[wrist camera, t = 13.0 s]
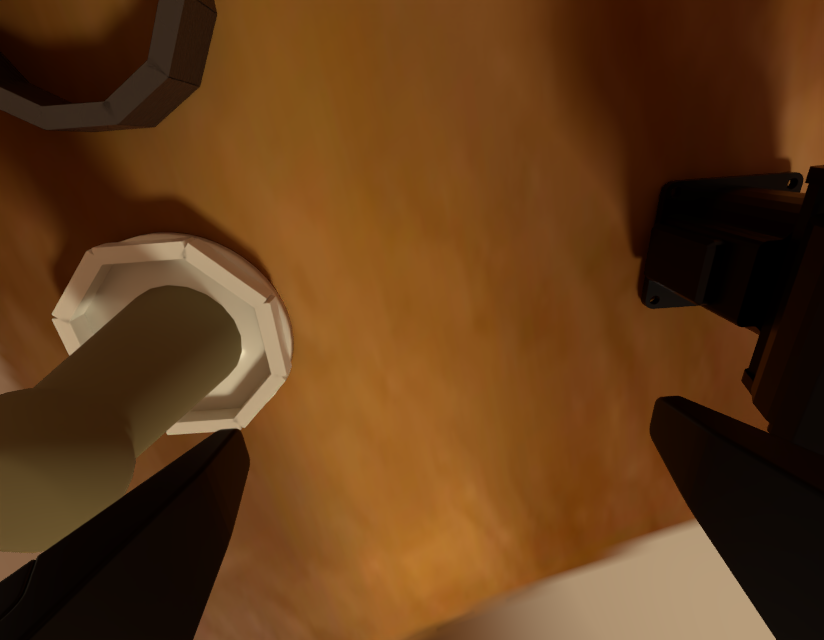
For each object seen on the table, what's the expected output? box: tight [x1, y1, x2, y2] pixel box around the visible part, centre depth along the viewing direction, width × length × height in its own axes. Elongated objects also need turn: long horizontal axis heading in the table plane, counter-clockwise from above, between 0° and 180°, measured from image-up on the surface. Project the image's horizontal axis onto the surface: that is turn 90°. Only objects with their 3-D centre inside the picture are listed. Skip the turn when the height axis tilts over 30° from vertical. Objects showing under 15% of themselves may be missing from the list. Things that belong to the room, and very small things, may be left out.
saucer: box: [52, 232, 293, 435], centre depth 21 cm, size 11×11×2 cm
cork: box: [0, 285, 242, 553], centre depth 16 cm, size 6×6×11 cm
